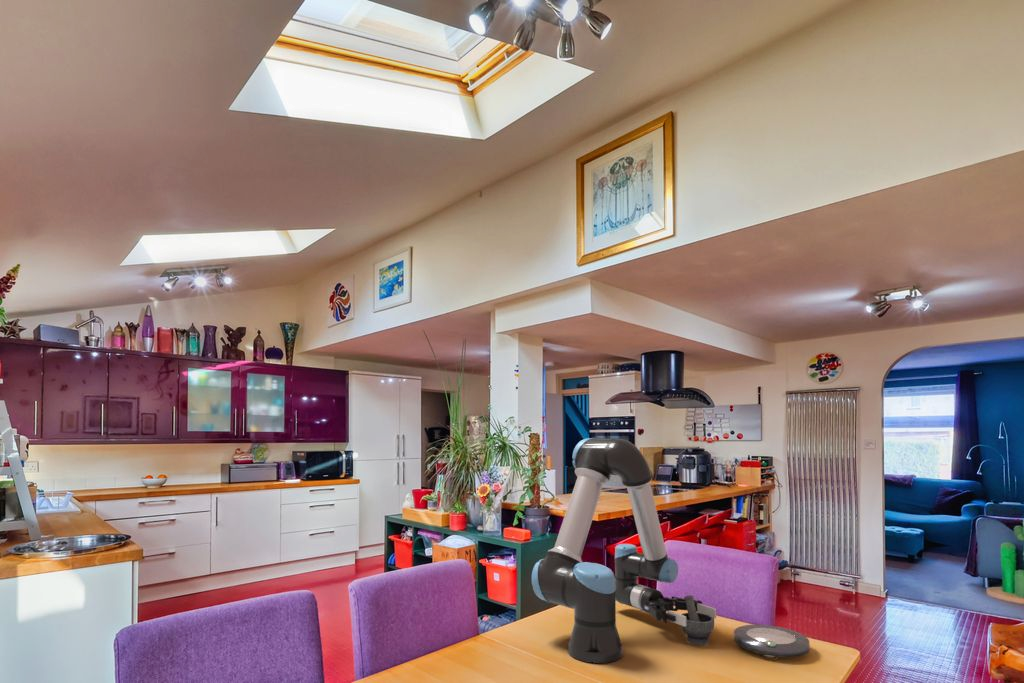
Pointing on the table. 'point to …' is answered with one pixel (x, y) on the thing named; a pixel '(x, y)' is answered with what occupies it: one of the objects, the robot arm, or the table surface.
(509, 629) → the table surface
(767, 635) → the base
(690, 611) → the mortar and pestle
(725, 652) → the table surface
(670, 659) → the table surface
